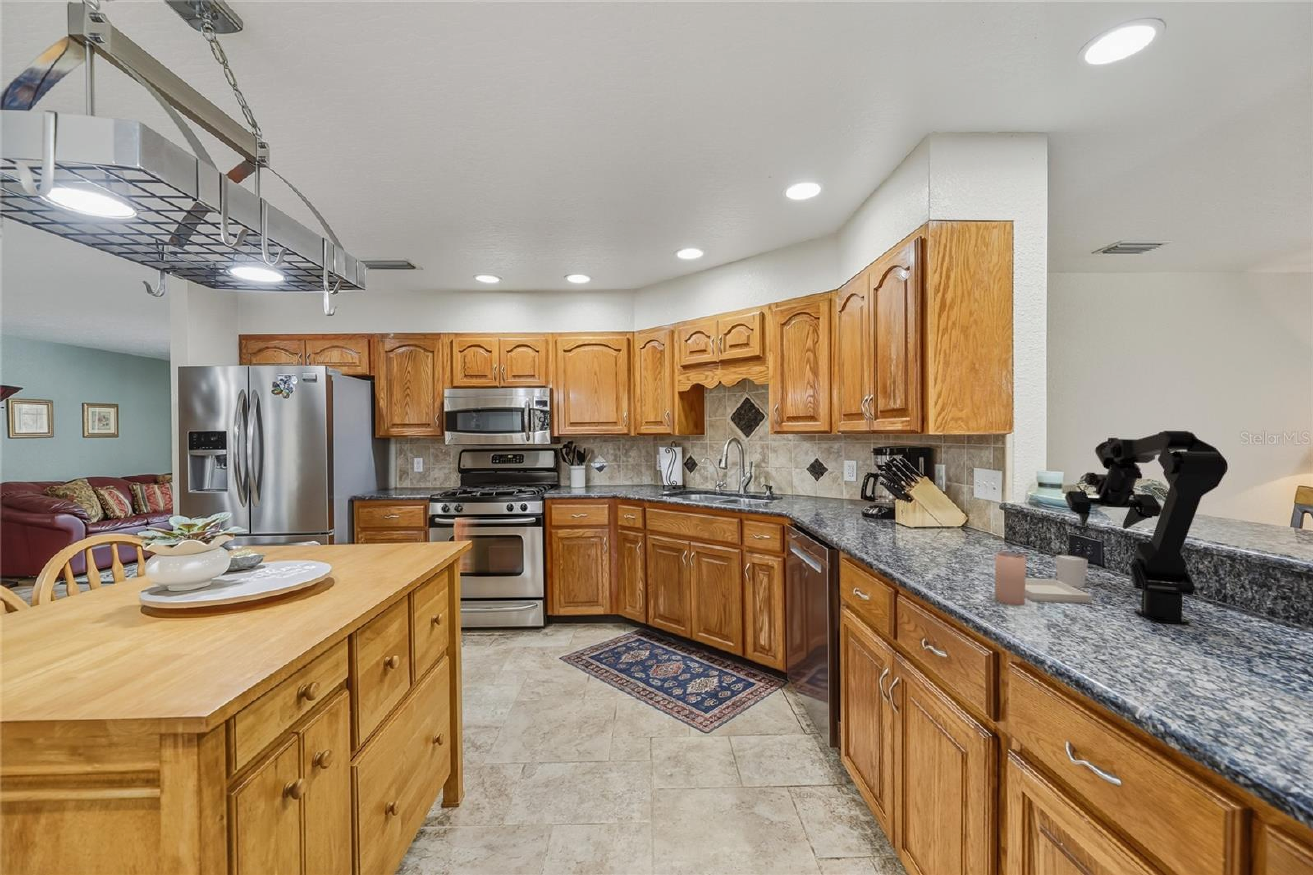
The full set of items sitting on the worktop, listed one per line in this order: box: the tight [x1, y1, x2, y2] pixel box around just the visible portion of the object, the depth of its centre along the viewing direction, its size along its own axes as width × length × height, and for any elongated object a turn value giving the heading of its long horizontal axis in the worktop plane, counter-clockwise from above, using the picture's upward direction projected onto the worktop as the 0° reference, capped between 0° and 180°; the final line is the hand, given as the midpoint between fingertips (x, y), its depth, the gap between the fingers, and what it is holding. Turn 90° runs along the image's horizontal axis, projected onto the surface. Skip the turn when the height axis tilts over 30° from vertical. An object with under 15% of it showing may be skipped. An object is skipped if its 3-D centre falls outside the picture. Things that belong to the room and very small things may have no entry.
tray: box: [1025, 578, 1093, 605], centre depth 132 cm, size 13×13×2 cm
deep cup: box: [994, 551, 1027, 606], centre depth 127 cm, size 6×6×11 cm
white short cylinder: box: [1055, 554, 1089, 588], centre depth 142 cm, size 7×7×7 cm
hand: (1102, 526), depth 143 cm, fingers open, 9 cm apart
